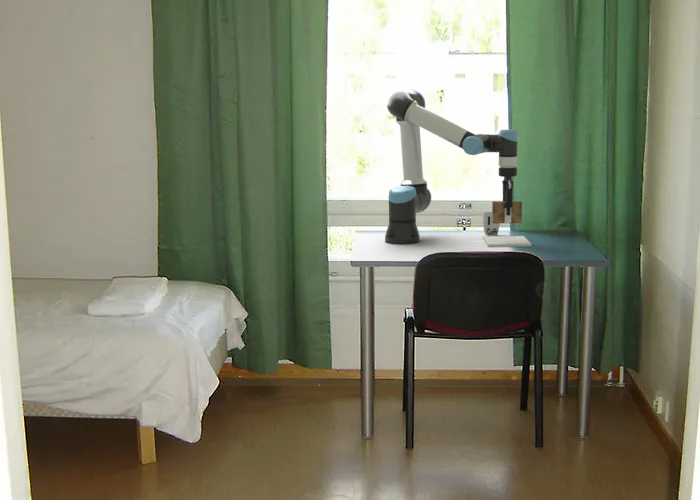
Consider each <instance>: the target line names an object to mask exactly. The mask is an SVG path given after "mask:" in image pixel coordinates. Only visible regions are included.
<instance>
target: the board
mask: <svg viewBox="0 0 700 500" xmlns="http://www.w3.org/2000/svg"><path fill="white" fill-rule="evenodd" d="M491 202H492V203H491V206H492V207H491V208H492V209H491V212H492V223H500V224H506V223H505V208H504V206H505V201H503V200H501V201H500V200H499V201H497V200H496V201H491ZM522 213H523V201H522V200H512V207H511V223H510V224H522V222H523V221H522V219H523V217H522V216H523V214H522Z"/></svg>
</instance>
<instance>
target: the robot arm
mask: <svg viewBox="0 0 700 500" xmlns="http://www.w3.org/2000/svg"><path fill="white" fill-rule="evenodd" d="M387 97H388V98H387V100H386V108H387V110H388V112H389V114H390V115H392V116H393V117H394V118H395V120H396V121H395V122H396V124H398V125H399V129H400V130H399V133H400V144H401V145H400V146H401V158H402V159H401V160H402V161H401V162H402V172H403V180H402V181H401V182H400V185H399V186H395V187H392V188H391V189H389V190H388V191H389V192H388V196H387V197H388V198H387V199H388V226H387V229H386V232H385V235H384V242H386V243H389V244H398V245H400V244H401V245H409V244H417V243H419V242H420V241H421V235H420V232H419V229H418V226H417V214H420V213H422V212H424V211H426V210H427V209H428V207H430V205H431V202H432V193H431V191H430V190H429V188H428V182H427V181H426V180H425V178H424V171H423V158H422V156H423V155H422V144H421V143H422V141H421V128H422V129H423V130H426V131H428V132H429V133H431V134H433V135H435V136H438V137H439V138H441V139H443V140H445V141H447V142H448V143H451V144H452V145H454V146H457V147H458V148H461V149H462V150H463V151H464V152H465V154H467V155H468V156H476V155H477V156H478V155H480V154H485V153H498V166H499V167H498V176H499V177H502V178H503V180H502V181H501V183H502V201H505V206H504V208H505V223H504V224H512V223H511V207H512V201H513V196H514V194H513V191H514V189H513V188H514V181H513V180H512V177H517V176H518V168H517V165H518V162H519V158H518V131H517V130H515V129H500V130H499V131H498V134H483V133H478V134H474V133H473V132H471V131H469V130H467V129H465V128H463V127H461V126H459V125H458V124H457V123H454V122H451V121H449V120H447V118H444V117H442V116H440V115H438V114H437V113H435V112H433V111H431V110H429V109H427V108H426V100H425V97H424V96H423V94H422V93H421V92H420V91H417V90H415V89H397V90H394V91H392V92H391V93H390V94H389V95H388V96H387Z"/></svg>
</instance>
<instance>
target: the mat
mask: <svg viewBox="0 0 700 500" xmlns="http://www.w3.org/2000/svg"><path fill="white" fill-rule="evenodd" d="M481 239H482V240H484V241H483V242H484V243H485V245H486V246H487V248H488V247H489V248H490V247H491V248H492V247H493V248H494V247H496V248H497V247H499V248H500V247H502V248H503V247H506V248H507V247H508V248H509V247H532V246H533V245H532V243H531V242H530V241H529V240H528V239H527V238H526V237H525V236H524V235H497V236H486V235H485V236H484V235H482V236H481Z"/></svg>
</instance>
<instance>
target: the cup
mask: <svg viewBox="0 0 700 500" xmlns="http://www.w3.org/2000/svg"><path fill="white" fill-rule="evenodd" d="M481 214H482V215H481V216H482V227H483V231H484V232H483V233H484V235H485V236H486V235H487V236H498V234H499V231H500V225H501V223H492V211H488V212H487V211H486V212H482V213H481Z"/></svg>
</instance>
